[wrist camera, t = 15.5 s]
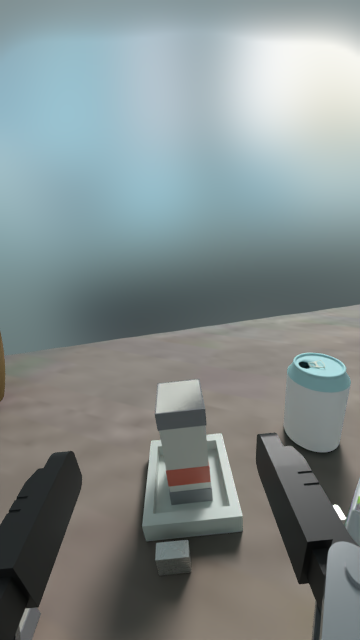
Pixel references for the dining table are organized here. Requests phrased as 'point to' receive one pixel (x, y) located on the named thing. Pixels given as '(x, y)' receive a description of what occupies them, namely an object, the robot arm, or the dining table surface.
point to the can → (316, 401)
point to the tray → (191, 517)
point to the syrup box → (354, 516)
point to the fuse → (29, 623)
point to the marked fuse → (184, 440)
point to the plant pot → (2, 370)
